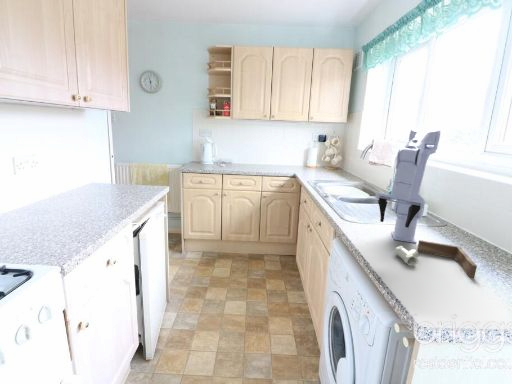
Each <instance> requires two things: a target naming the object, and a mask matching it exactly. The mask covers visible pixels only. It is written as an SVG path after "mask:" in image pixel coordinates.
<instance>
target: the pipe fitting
mask: <svg viewBox="0 0 512 384" xmlns="http://www.w3.org/2000/svg"><path fill="white" fill-rule="evenodd" d="M394 254H395V255H396V256H398V257H399V258H400V259H401V260H402V261H403V262H404V263H405V264H406V265H408V266H409V267H414V266H416V265H417V263H418V258H419V252H418V251H417V250H416V249H413V248H411V249H409V250H408V249H406V248H405V247H404V246H402V245H399V246H398V245H397V246H396V247H395V248H394Z"/></svg>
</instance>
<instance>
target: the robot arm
mask: <svg viewBox="0 0 512 384" xmlns="http://www.w3.org/2000/svg"><path fill="white" fill-rule="evenodd" d="M440 137H441V130H440V129H433V128H432V129H431V128H430V129H429V128H427V129H425V128H413V127H412V129H411V130H410V131H409V137H408V142H407V143H406V145H405V146H404V147H403V148H401V149H400V148H399V150H398V151H397V155H396V164H395V174H394V179H393V184H392V188H391V192H390V194H385V193H379V192H376V193H375V199H376V200H377V203H378V207H379V212H380V214H379V215H380V220H379V222H380V223H383V222H384V221H385V215H386V214H385V213H386V209H387V206H388V202H393V203H394V206H393V213H394V214H395V216H396V220H395V224H394V230H392V231H391V235H392V238H393V240H394V241H401V242H406V243H414V244H416V243H417V240H416V238H415V234H416V230H417V225H418V220H420V219H422V218H423V215H424V212H425V211H424V210H425V204H426V201H425V199H424V197H422V195H420V190H421V187H422V183H423V179H424V178H423V177H424V175H425V170H426V165H427V162H428V160H429V157H430V155H432V154H436V151H437V149H438V147H439V142H440Z"/></svg>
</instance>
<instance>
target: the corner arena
mask: <svg viewBox="0 0 512 384" xmlns="http://www.w3.org/2000/svg"><path fill="white" fill-rule="evenodd" d="M417 244H418V245H417V250H416V251H417V252H418V253H424V254H429V255H435V256H440V257H446V258H453V259H455V261H456V262H457V263H458V264H459V266H460V267H461V269H462V270H463V271H464V272H465V274H466V275H467V277H469V278H471V279H475V278H476V277H475V276H476V273H477V267H478V265H477V264H476V263H475V262H474V261H473V260H472V259H471V257H469V255H468V254H467V253H466V252H465V250H464V249H463V248H462V247H461V246H458V245H453V244H447V243H446V244H445V243H438V242H434V241H427V240H420V239H419V240H418V243H417Z"/></svg>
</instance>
